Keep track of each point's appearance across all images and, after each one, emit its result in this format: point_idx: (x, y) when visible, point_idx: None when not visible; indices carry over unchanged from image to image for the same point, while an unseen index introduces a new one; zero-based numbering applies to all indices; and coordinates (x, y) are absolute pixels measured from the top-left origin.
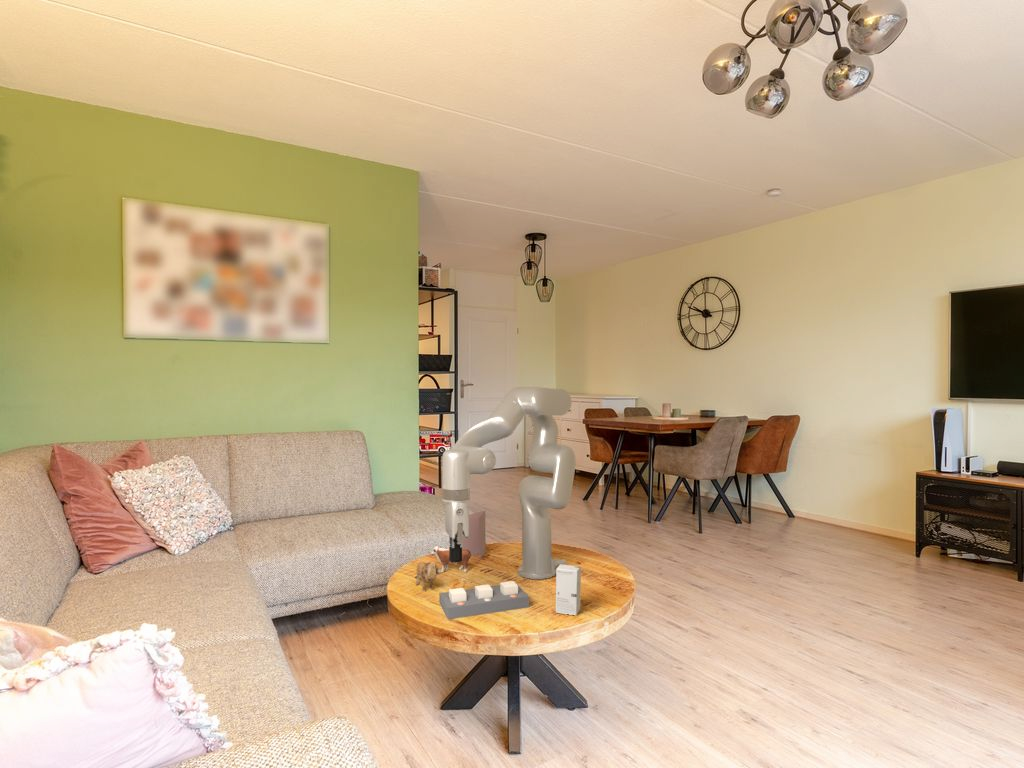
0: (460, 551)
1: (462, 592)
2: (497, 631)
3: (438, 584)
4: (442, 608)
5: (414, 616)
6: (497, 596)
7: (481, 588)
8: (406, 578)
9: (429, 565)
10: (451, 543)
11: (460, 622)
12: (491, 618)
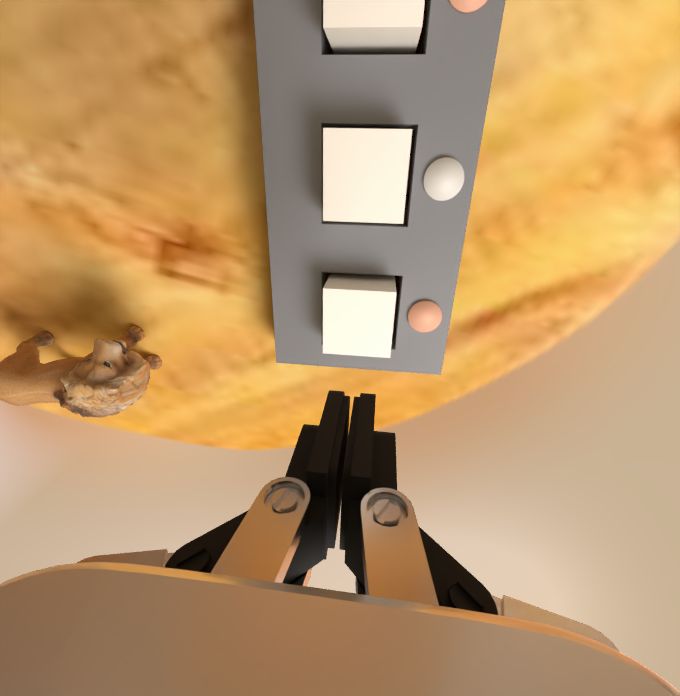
0: (373, 460)
1: (383, 308)
2: (656, 208)
3: (93, 297)
4: None
5: None
6: (422, 103)
7: (371, 195)
8: None
9: (107, 411)
10: (306, 576)
11: (482, 321)
12: (518, 189)
